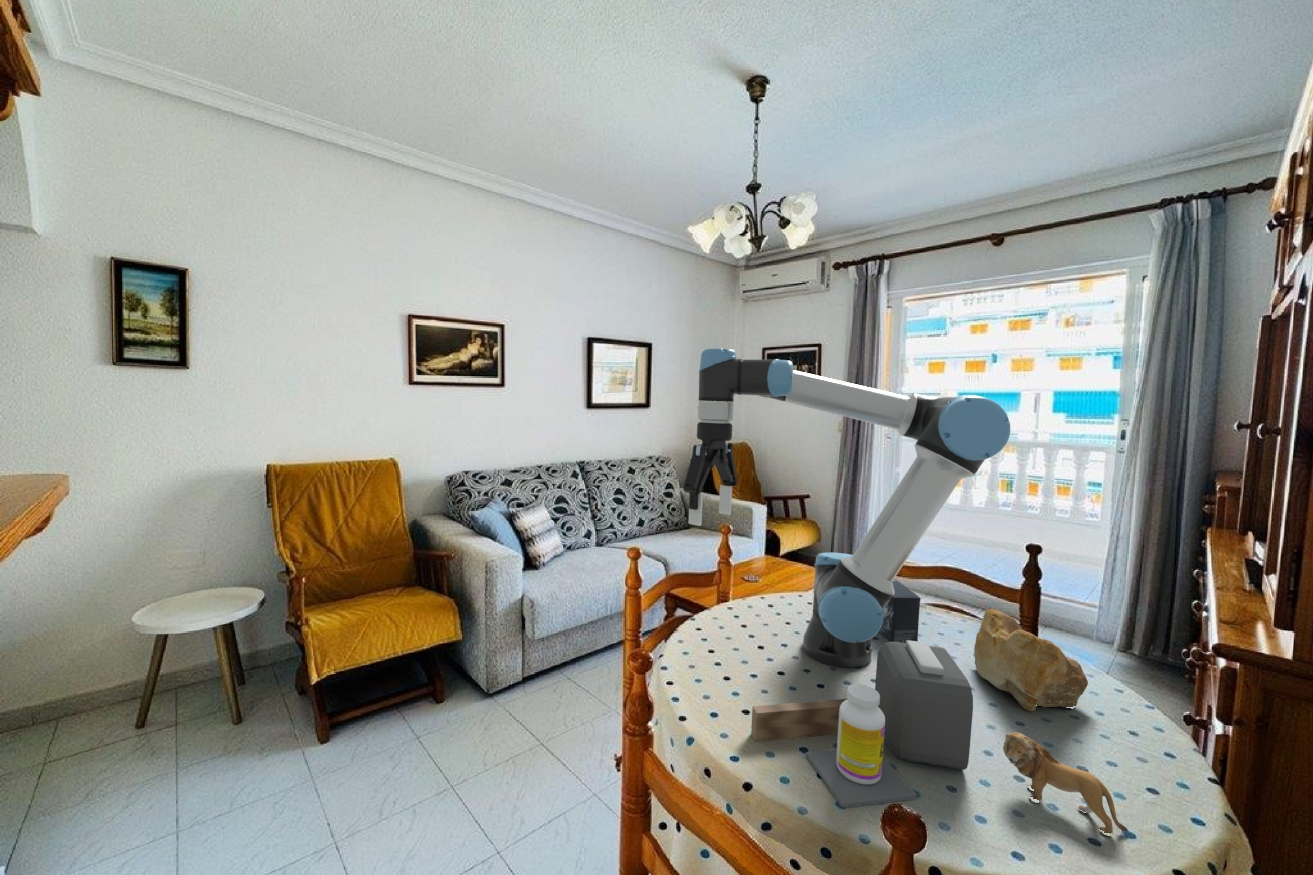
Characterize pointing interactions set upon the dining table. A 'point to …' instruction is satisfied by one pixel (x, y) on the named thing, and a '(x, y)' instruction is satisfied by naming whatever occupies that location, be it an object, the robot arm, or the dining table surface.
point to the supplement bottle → (860, 735)
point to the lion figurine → (1059, 777)
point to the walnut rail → (795, 720)
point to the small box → (901, 615)
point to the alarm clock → (924, 704)
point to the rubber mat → (855, 793)
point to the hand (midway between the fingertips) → (710, 519)
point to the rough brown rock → (1026, 664)
